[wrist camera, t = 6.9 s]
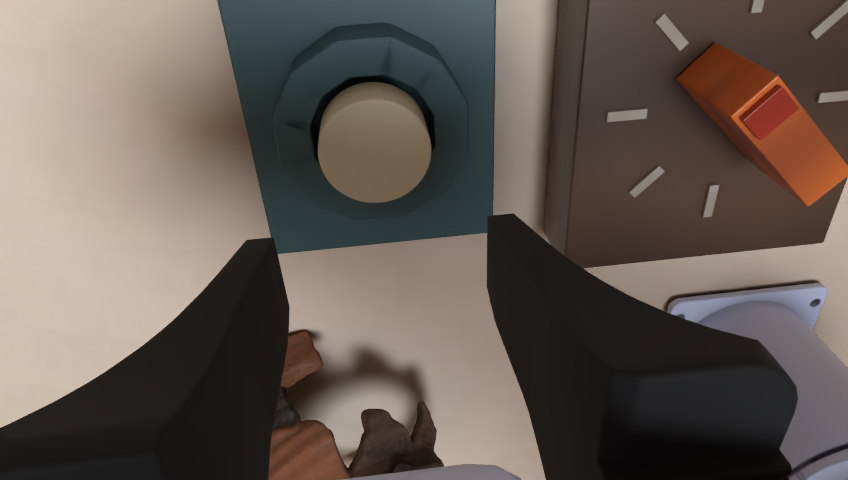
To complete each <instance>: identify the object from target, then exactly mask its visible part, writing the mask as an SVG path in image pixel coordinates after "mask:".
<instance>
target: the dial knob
mask: <svg viewBox="0 0 848 480" xmlns="http://www.w3.org/2000/svg"><path fill="white" fill-rule="evenodd" d="M676 79H677V81H678V82H679V83H680V84H681V85H682V87H683V88H684V89H685V90H686V91H687V92H688V93H689V94H690V96H691V97H692V98H693V99H694V100H695V101H696V102H697V104H698V105H699V106H700V107H701V108H702V109H703V110H704V111H705V113H706V114H707V115H708V116H709V117H710V118H711V119H712V120H713V122H714V123H715V124H716V125H717V126H718V127H719V128H720V130H721V131H722V132H723V133H724V134H725V135H726V136H727V137H728V139H729V140H730V141H731V142H732V143H733V144H734V145H735V147H736V148H737V149H738V150H739V151H740V152H741V153H742V154H743V156H744V157H745V158H746V159H747V160H748V161H749V162H750V163H752V164H753V165H754V166H756V167H757V168H758V169H759V170H761V171H762V172H763V173H765V174H766V175H767V176H768V177H770V178H771V179H772V180H774V181H775V182H776V183H777V184H779V185H780V186H781V187H783V188H784V189H785V190H786V191H788V192H789V193H790V194H792V195H793V196H794V197H795V198H797V199H798V200H799V201H801V202H802V203H803V204H804V205H806V206H810V205H811V204H813V203H814V202H815V201H817V200H818V199H819V198H820V197H822V196H823V195H824V194H826V193H827V192H828V191H830V190H831V189H832V188H833V187H835V186H836V185H837V184H839V183H840V182H841V181H842V180H844V179H845V178H846V177H848V166H847V164H846V163H845V162H844V160H843V159H842V158H841V156H840V155H839V154H838V153H837V151H836V150H835V149H834V147H833V146H832V145H831V143H830V142H829V141H828V140H827V138H826V137H825V136H824V134H823V133H822V132H821V130H820V129H819V128H818V126H817V125H816V124H815V123H814V121H813V120H812V119H811V117H810V116H809V115H808V113H807V112H806V111H805V109H804V108H803V107H802V106H801V104H800V103H799V102H798V100H797V99H796V98H795V96H794V95H793V94H792V92H791V91H790V90H789V89H788V87H787V86H786V85H785V83H784V82H783V81H782V79H781V78H780V77H779V76H778V75H777V74H775V73H773V72H771V71H769V70H767V69H765V68H763V67H761V66H759V65H757V64H756V63H754V62H752V61H750V60H748V59H746V58H744V57H742V56H740V55H738V54H736V53H735V52H733V51H731V50H729V49H727V48H725V47H723V46H721V45H719V44H717V43H714V44H713V45H712V46H710V47H709V48H708V49H707V50H706V51H705V52H704V53H703V54H702V55H701V56H700V57H699V58H698V59H697V60H695V61H694V62H693V63H692V64H691V65H690V66H689V67H688V68H687V69H686V70H685V71H684V72H683V73H681V74H680V75H679V76H678V77H677V78H676Z"/></svg>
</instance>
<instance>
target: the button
mask: <svg viewBox="0 0 848 480" xmlns="http://www.w3.org/2000/svg"><path fill="white" fill-rule="evenodd" d="M318 159H319V163H320V166H321V169H322V172H323V173H324V175H325V177H326V178H327V180H328V181H329V182H330V184H331V185H332V186H333V187H334V188H336V189H337V190H338V191H339V192H341V193H342V194H344V195H346V196H347V197H350V198H352V199H354V200H358V201H361V202H367V203H382V202H388V201H391V200H395V199H397V198H400V197H402V196H403V195H405V194H407V193H408V192H410V191H411V190H412V189H413V188H415V187H416V186H417V185H418V183H419V182H420V181H421V180H422V178H423V177H424V175H425V174H426V172H427V169H428V167H429V164H430V160H431V141H430V137H429V133H428V130H427V126H426V123H425V119H424V116H423V114H422V111H421V109H420V108H419V106H418V104H417V103H416V102H415V101H414V99H413V98H412V97H411V96H409V95H408V94H407V93H406V92H404V91H403V90H401V89H399V88H398V87H395V86H393V85H390V84H386V83H381V82H365V83H359V84H356V85H353V86H351V87H348V88H346V89H345V90H343V91H341V92H340V93H339V94H338V95H336V96H335V97H334V98H333V99H332V100H331V102H330V103H329V104H328V106H327V107H326V109H325V111H324V113H323V116H322V119H321V124H320V132H319V142H318Z"/></svg>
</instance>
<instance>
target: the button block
mask: <svg viewBox="0 0 848 480" xmlns="http://www.w3.org/2000/svg"><path fill="white" fill-rule="evenodd" d="M218 5H219V9H220V14H221V18H222V23H223V27H224V31H225V36H226V40H227V45H228V49H229V53H230V58H231V62H232V67H233V71H234V75H235V80H236V84H237V89H238V93H239V97H240V102H241V106H242V111H243V115H244V119H245V124H246V128H247V133H248V137H249V141H250V146H251V150H252V155H253V159H254V163H255V168H256V172H257V177H258V181H259V186H260V190H261V194H262V199H263V203H264V208H265V212H266V216H267V221H268V225H269V230H270V234H271V238H273V237H274V241H275V246H276V250H277V254H282V253H291V252H301V251H311V250H321V249H331V248H341V247H351V246H361V245H371V244H380V243H390V242H400V241H410V240H420V239H430V238H440V237H450V236H459V235H469V234H479V233H487V216H493V181H494V104H495V27H496V0H218ZM365 82H381V83H386V84H390V85H393V86H395V87H398V88H399V89H401V90H403V91H404V92H406V93H407V94H408V95H409V96H411V97H412V98H413V99H414V101H415V102H416V103H417V104H418V106H419V108H420V109H421V111H422V114H423V116H424V119H425V123H426V126H427V130H428V133H429V137H430V141H431V160H430V164H429V167H428V169H427V172H426V174H425V175H424V177H423V178H422V180H421V181H420V182H419V183H418V185H417V186H416V187H415V188H413V189H412V190H411V191H410V192H408V193H407V194H405V195H403V196H402V197H400V198H397V199H395V200H391V201H388V202H382V203H367V202H361V201H358V200H354V199H352V198H350V197H347V196H346V195H344V194H342V193H341V192H339V191H338V190H337V189H336V188H334V187H333V186H332V185H331V184H330V182H329V181H328V180H327V178H326V177H325V175H324V173H323V172H322V169H321V166H320V163H319V159H318V142H319V132H320V124H321V119H322V116H323V113H324V111H325V109H326V107H327V106H328V104H329V103H330V102H331V100H332V99H333V98H334V97H335V96H336V95H338V94H339V93H340V92H341V91H343V90H345V89H346V88H348V87H351V86H353V85H356V84H359V83H365Z"/></svg>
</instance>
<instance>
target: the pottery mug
mask: <svg viewBox="0 0 848 480" xmlns="http://www.w3.org/2000/svg"><path fill="white" fill-rule="evenodd" d="M322 365H323V361H322V359H321V356H320V354H319V352H318V351H317V350H316V349H315V347H314V344H313V341H312V339H311V337H310V334H309V333H308V332H307V331H302V332H300V333H298V334H295V335H292V336H289V337H288V346H287V352H286V358H285V363H284V369H283V375H282V380H281V385H280V391H279V396H278V402H277V407H276V413H275V418H274V423H273V430H272V438H271V447H270V461H269V476H268V480H342V479H350V478H358V477H366V476H374V475H382V474H390V473H398V472H406V471H414V470H422V469H430V468H438V467H444V464H443V463H442V461H441V460H440V459H439V458H438V457H437V456H436V454H435V452H434V445H435V440H436V432H437V430H436V428H435V426H434V423H433V421H432V418H431V415H430V412H429V410H428V408H427V406H426V404H425V402H423V401H421V402H419V403H418V405H417V419H416V423H415V426H414V429H413V432H412V434H411V437H410V434H409V432H408V430H407V429H406V428H405V427H404V426H403V425H402V424H400V423H399V422H397V421H395V420H394V419H392V417H391V415H390V414H389V413H388V412H387V411H385V410H382V409H367V410H364V411H363V412H362V414H361V419H362V424H363V428H364V433H363V434H362V437H361V441H360V445H359V448H358V451H357V454H356V456H355V457H354V459H353V461H352V463H351V464H350V467H349V468H347V467H346V466H345V464H344V462H343V460H342V458H341V456H340V454H339V451H338V449H337V446H336V443H335V439H334V435H333V433H332V431H331V430H330V429H328V428H327V427H326V426H325V425H324V424H323V423H321V422H319V421H317V420H305V421H301V419H300V416H299V414H298V413H297V412H296V410H295V409H294V407H293V406H292V404H291V403H290V401H289V399H288V394H287V389H289V388H290V387H292V386H293V385H294V384H295V383H296V382H297V381H299V380H301V379H303V378H304V377H306V376H308V375H309V374H311V373H313V372H315V371H317V370H319V369H321V367H322Z"/></svg>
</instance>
